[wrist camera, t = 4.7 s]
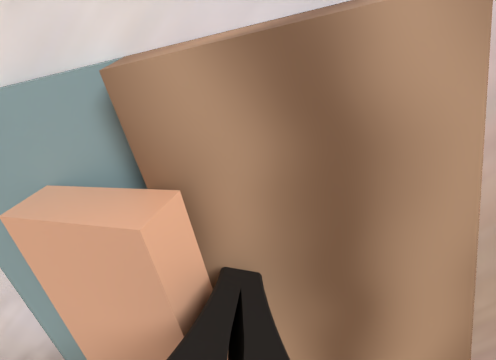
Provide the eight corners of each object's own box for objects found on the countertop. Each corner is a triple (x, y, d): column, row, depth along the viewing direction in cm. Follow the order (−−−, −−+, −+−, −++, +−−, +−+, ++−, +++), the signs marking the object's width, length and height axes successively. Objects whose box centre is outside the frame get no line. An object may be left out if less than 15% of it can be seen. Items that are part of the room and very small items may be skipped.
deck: (242, 372, 19) (239, 412, 17) (124, 56, 12) (98, 70, 10) (448, 352, 18) (468, 393, 16) (456, -26, 10) (494, -27, 9)
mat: (76, 364, 20) (72, 370, 19) (-97, 111, 13) (-107, 115, 13) (233, 346, 18) (232, 353, 18) (124, 56, 12) (119, 59, 12)
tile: (123, 331, 18) (93, 369, 16) (46, 185, 14) (-2, 216, 12) (236, 360, 15) (214, 409, 13) (180, 190, 11) (139, 230, 10)
